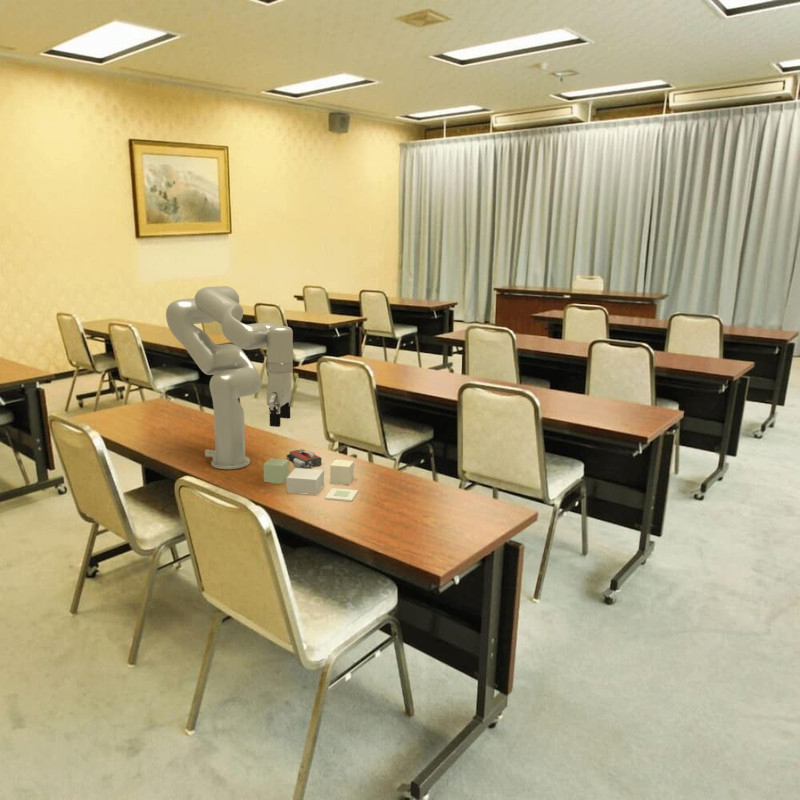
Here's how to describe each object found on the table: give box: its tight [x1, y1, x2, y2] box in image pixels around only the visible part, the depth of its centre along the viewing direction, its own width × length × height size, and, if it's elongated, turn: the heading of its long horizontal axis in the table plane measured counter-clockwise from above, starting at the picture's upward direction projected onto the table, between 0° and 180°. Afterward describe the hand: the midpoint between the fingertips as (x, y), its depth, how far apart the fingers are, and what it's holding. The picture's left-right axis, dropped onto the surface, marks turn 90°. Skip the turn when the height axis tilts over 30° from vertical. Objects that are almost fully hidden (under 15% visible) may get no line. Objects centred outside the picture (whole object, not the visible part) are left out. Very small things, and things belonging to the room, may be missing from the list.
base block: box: [286, 467, 325, 495], centre depth 198 cm, size 9×9×5 cm
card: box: [324, 487, 359, 502], centre depth 193 cm, size 8×8×1 cm
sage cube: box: [263, 457, 290, 484], centre depth 204 cm, size 6×6×6 cm
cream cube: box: [329, 459, 355, 486], centre depth 205 cm, size 6×6×6 cm
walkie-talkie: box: [286, 448, 322, 469], centre depth 219 cm, size 9×4×20 cm
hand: (280, 422), depth 201 cm, fingers open, 9 cm apart
